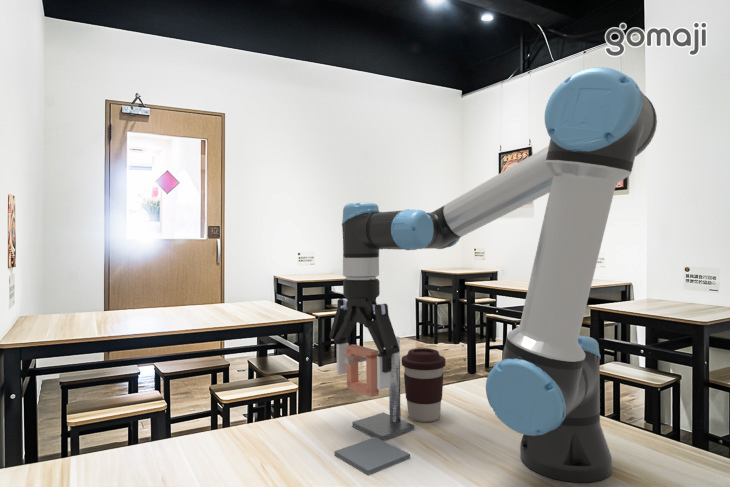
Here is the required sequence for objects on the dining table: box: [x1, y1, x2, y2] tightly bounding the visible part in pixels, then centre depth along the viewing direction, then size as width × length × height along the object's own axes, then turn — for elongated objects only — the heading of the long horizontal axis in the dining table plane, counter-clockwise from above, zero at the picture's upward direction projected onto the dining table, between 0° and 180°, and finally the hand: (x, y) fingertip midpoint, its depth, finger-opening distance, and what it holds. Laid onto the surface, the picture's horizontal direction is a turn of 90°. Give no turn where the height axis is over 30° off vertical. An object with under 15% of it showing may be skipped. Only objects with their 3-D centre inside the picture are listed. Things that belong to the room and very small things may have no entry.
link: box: [346, 344, 380, 398], centre depth 99 cm, size 8×2×9 cm, turn 39°
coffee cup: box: [401, 347, 447, 423], centre depth 109 cm, size 10×10×15 cm
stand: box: [345, 335, 415, 442], centre depth 101 cm, size 10×14×19 cm
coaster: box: [334, 437, 411, 476], centre depth 89 cm, size 10×10×1 cm
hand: (362, 380), depth 99 cm, fingers open, 13 cm apart
